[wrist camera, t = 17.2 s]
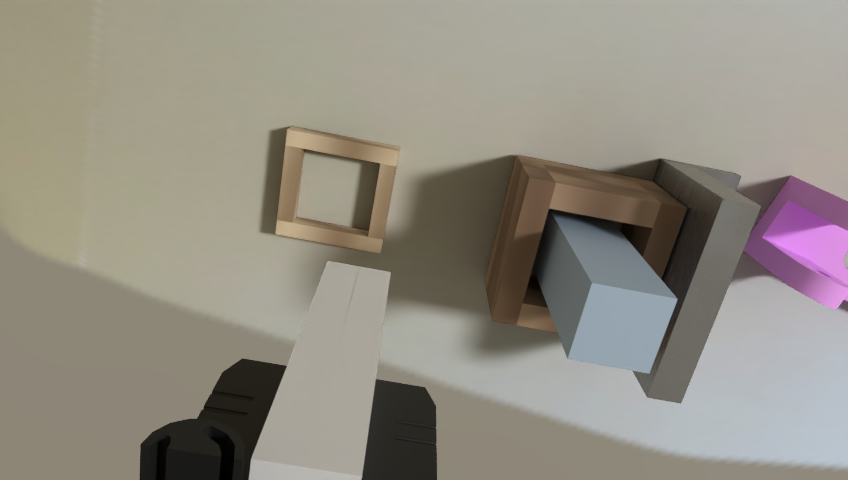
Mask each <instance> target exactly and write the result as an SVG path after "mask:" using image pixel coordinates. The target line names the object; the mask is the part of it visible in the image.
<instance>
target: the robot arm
mask: <svg viewBox="0 0 848 480" xmlns="http://www.w3.org/2000/svg"><path fill="white" fill-rule="evenodd" d="M390 275H391V272H388V271H382V270H377V269H371V268H366V267H360V266H354V265H349V264H343V263H338V262H332V261H327V264H326V267H325V269H324V272H323V274H322V277H321V280H320V282H319V285H318V287H317V290H316V292H315V295H314V298H313V300H312V303H311V305H310V308H309V311H308V313H307V316H306V318H305V321H304V323H303V326H302V329H301V331H300V334H299V336H298V339H297V342H296V344H295V347H294V349H293V352H292V355H291V357H290V360H289V362H288V365H287V366H284V365H278V364H272V363H266V362H260V361H254V360H248V359H241V360H240V361H238V362H237V363H235V364H234V365H232V366H231V367H230V368H228V369H227V370H225V371H224V372H223V373H222V374H221V376H220V378H219V380H218V382H217V384H216V385H215V387H214V389H213V392H212V394H211V395H210V397H209V398H208V400H207V402H206V403H205V406H204V409H203V410H202V411H201V412H200V414H199V416H198V418H197V419H187V420H182V421H177V422H174V423H169V424H167V425H165V426H163V427H162V428H160V429H158V430H156V431H154V432H152V433H151V434H150V435H149V436H148V438H147V439H146V440H144V441H143V443H142V444H141V453H140V454H141V455H140V480H437V453H436V406H435V404H434V402H433V400H432V399H431V397H430V395H429V393H428V392H427V390H426V388H425V387H419V386H413V385H408V384H402V383H396V382H389V381H384V380H378V379H376V374H377V367H378V360H379V353H380V346H381V339H382V332H383V325H384V317H385V310H386V303H387V296H388V289H389V282H390Z"/></svg>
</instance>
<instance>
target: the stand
mask: <svg viewBox="0 0 848 480" xmlns="http://www.w3.org/2000/svg"><path fill="white" fill-rule="evenodd" d="M305 149H308V150H313V151H318V152H323V153H329V154H334V155H339V156H344V157H349V158H355V159H360V160H365V161H370V162H375V163H380V169H379V175H378V181H377V187H376V193H375V198H374V204H373V210H372V216H371V222H370V228H369V231H368V230H363V229H358V228H352V227H347V226H342V225H336V224H331V223H325V222H320V221H315V220H309V219H304V218H299V217H296V214H297V206H298V198H299V190H300V182H301V174H302V166H303V158H304V150H305ZM399 150H400V147H397V146H392V145H387V144H382V143H376V142H371V141H366V140H361V139H356V138H351V137H346V136H340V135H335V134H330V133H325V132H320V131H315V130H310V129H304V128H299V127H294V126H291V127H290V128H288V129H287V135H286V144H285V153H284V162H283V171H282V179H281V188H280V197H279V206H278V215H277V224H276V233H275V234H277V235H283V236H288V237H293V238H299V239H304V240H310V241H315V242H320V243H326V244H331V245H337V246H342V247H347V248H353V249H358V250H364V251H369V252H374V253H381V249H382V244H383V239H384V233H385V227H386V222H387V216H388V211H389V205H390V200H391V194H392V189H393V183H394V178H395V172H396V167H397V161H398V156H399Z"/></svg>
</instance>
